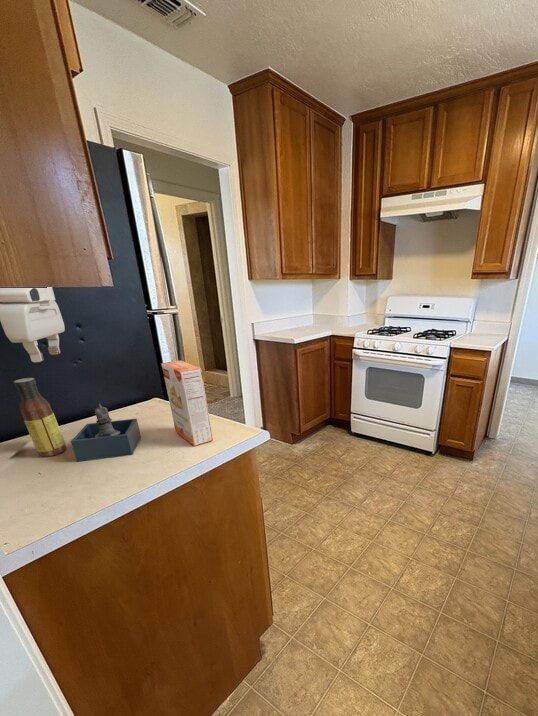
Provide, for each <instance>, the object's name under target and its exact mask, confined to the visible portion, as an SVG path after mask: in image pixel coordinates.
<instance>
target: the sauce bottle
mask: <svg viewBox="0 0 538 716" xmlns="http://www.w3.org/2000/svg"><path fill="white" fill-rule="evenodd" d="M13 384H14V387H15V388H16V389H17V392H18V394H19V397H20V399H21V400H20V403H19V406H18V407H19V409H18V410H19V411H20V414H21V416H22V418H23V419H22V420H23V422H24V424H25V426H26V429H27V432H28V434H29V436H30V438H31V440H32V443H33V445H34V447H35V450H36V451H37V453H38V455H39V456H41V457H51V456H57V455H59V454H62V453H64V452H65V451H66V450H67V446H66V441H65V438H64V436H63V434H62V431H61V428H60V426H59V423H58V421H57V418H56V415H55V413H54V411H53V409H52V407H51V404H50V402H49V401H48V400H47V399H45V398H44V397H43V396H42V395H41V393H40V392H39V390H38V386H37V381H36V380H35V378H34V377H26V378H25V377H24V378H20V379H16V380H14V381H13Z"/></svg>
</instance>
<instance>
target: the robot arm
mask: <svg viewBox="0 0 538 716" xmlns="http://www.w3.org/2000/svg"><path fill="white" fill-rule="evenodd" d="M55 296H56V295H55V293H54V288H53V286H52V287H47V288H0V324H1V327H2V329H3V332H4V335H5V336H6V337H7V339H8V340H9V341H10V342H11V343H13V344H14V343H15V344H16V343H22V347H23V349H24V350H25V351H26V352H27V353H28V354H29V357H30V360H31V362H32V363H41V362H43V361H44V360H45V359H44V356H43V355H44V354H43V352H41V351H40V349H39V347H38V345H39V344H38V340H42V339H46V340H47V343H48V344H47V345H48V347H47V350H48V354H50V355H51V356H55V355H59V354H61V349H60V336H59V334H61V333H64V332H66V331H65V330H66V328H65V322H64V319H63V316H62V313H61V311H60V308H59V305H58V303H57V302H56V297H55Z"/></svg>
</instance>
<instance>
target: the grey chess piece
mask: <svg viewBox="0 0 538 716" xmlns="http://www.w3.org/2000/svg"><path fill="white" fill-rule="evenodd" d="M94 413H95V417H96V421H95V423H98V425H99V429H100V432H99V433H98V434H96V435H95V438H97V437H105V436H114V435H120V431H119V430H114V428H113V427H112V423H111V421H113V419H112V418H111V417H110V415H109V410H108V408H107V407H105V406H102V404H101V403H98V406H97V407H96V408H95V409H94Z"/></svg>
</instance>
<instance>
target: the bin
mask: <svg viewBox="0 0 538 716" xmlns="http://www.w3.org/2000/svg"><path fill="white" fill-rule="evenodd" d="M111 423H112V427H113V428H114V430H119V431H120V435H114V436H105V437H97V438H95V435H96V434H98V433H99V432H100V429H99V425H98V423H96V422H91V423H86V424H85V425H84V426H83V428H82V429H80V430H79V432H78V433H77V434H76V435H75V436H74V437H73V438H72V439H71V440H70V444H71V447H72V451H73V453H74V456H75V460H76V462H77V463H79V462H86V461H94V460H101V459H103V460H104V459H110V458H117V457H126V456H133V455H134V452H135V450H136V448H137V447H138V444H139V442H140V439H141V437H142V435H141V430H140V428H139V427H140V426H139V423H138V419H137V418H127V419H119V420H111Z"/></svg>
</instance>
